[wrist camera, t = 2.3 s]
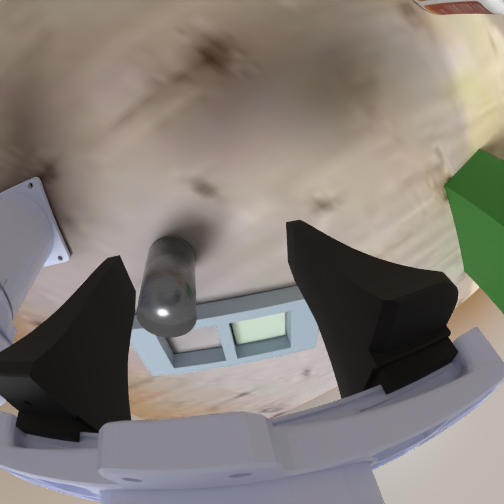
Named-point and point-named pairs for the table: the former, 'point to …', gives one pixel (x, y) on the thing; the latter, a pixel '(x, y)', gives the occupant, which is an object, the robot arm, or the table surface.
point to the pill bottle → (462, 6)
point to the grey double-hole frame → (236, 333)
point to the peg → (168, 289)
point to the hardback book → (481, 221)
